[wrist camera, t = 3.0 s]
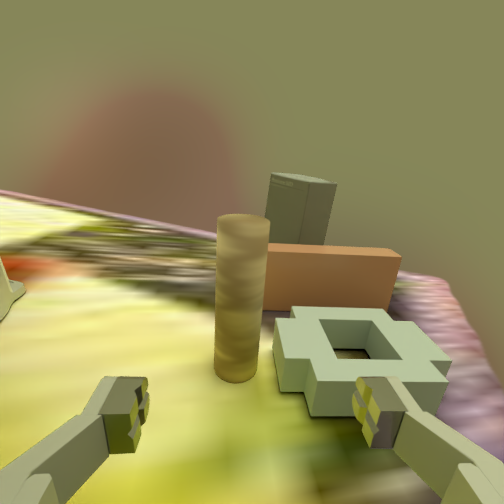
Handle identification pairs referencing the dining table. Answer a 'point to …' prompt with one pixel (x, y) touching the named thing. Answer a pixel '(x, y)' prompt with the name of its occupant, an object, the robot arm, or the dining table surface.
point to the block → (348, 370)
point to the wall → (329, 276)
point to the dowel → (239, 294)
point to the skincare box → (299, 208)
